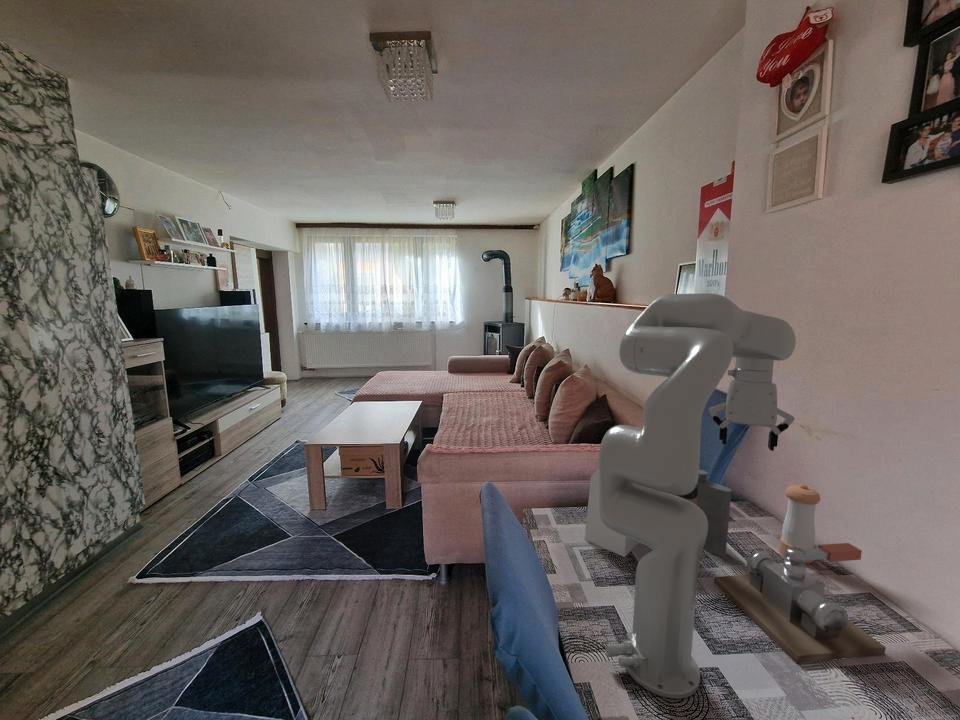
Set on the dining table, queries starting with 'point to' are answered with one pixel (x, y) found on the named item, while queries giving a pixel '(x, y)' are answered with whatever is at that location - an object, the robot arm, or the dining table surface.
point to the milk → (603, 525)
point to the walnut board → (796, 627)
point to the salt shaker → (799, 519)
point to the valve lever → (824, 553)
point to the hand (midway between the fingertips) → (746, 445)
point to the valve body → (796, 595)
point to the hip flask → (714, 512)
